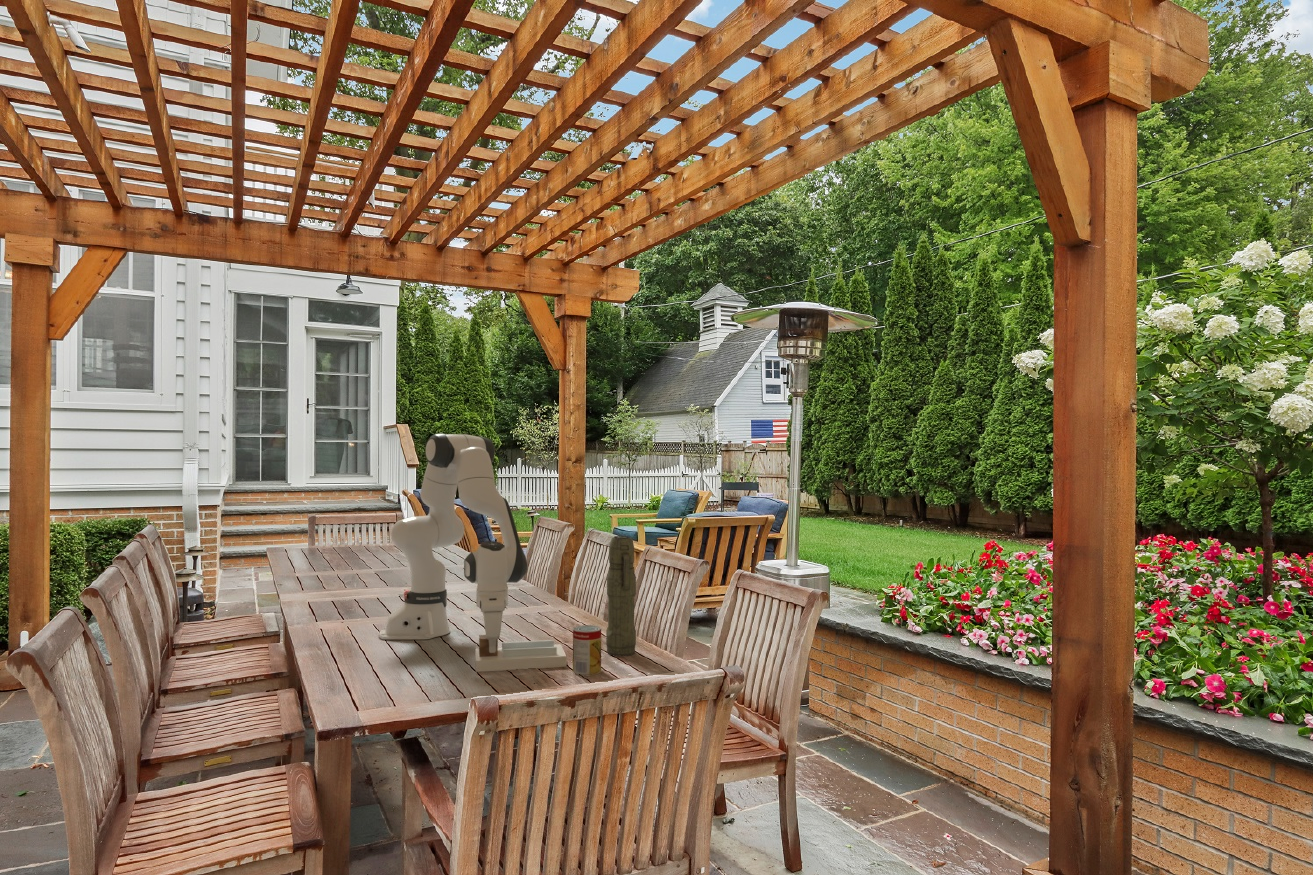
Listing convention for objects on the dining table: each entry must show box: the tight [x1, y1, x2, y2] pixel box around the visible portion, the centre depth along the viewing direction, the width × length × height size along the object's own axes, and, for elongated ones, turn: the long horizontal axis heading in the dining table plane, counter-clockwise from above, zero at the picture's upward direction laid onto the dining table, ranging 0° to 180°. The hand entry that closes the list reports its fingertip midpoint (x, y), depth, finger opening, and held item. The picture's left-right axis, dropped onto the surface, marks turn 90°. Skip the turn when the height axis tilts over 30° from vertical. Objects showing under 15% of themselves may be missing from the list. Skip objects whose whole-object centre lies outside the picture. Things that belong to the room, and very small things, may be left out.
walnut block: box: [478, 634, 499, 657], centre depth 232 cm, size 5×5×5 cm
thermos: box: [605, 535, 637, 657], centre depth 246 cm, size 9×12×35 cm
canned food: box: [572, 624, 602, 676], centre depth 226 cm, size 8×8×12 cm
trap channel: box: [474, 639, 567, 673], centre depth 234 cm, size 25×14×5 cm, turn 103°
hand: (491, 647), depth 232 cm, fingers open, 8 cm apart
